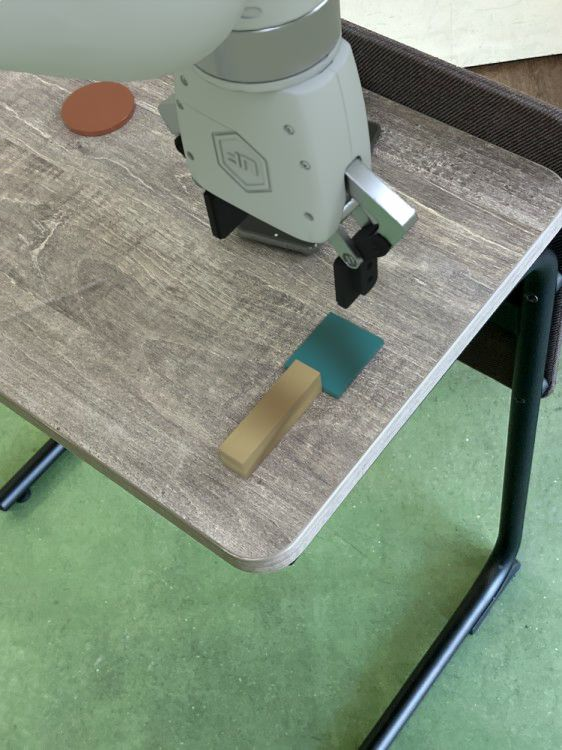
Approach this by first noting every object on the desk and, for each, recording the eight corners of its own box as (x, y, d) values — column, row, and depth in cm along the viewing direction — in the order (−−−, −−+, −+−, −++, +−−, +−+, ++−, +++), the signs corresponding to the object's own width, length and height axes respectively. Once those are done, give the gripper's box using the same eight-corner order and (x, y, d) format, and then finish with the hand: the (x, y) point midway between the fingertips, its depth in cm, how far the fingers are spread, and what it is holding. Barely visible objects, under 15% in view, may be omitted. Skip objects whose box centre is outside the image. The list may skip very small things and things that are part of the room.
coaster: (73, 145, 88) (71, 140, 88) (54, 101, 92) (52, 96, 91) (144, 120, 89) (143, 115, 88) (123, 77, 93) (121, 72, 92)
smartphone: (383, 122, 84) (314, 251, 76) (384, 131, 85) (315, 260, 77) (307, 106, 86) (232, 229, 78) (308, 115, 87) (234, 238, 79)
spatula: (262, 490, 66) (258, 474, 64) (207, 455, 68) (202, 438, 66) (384, 343, 72) (384, 324, 70) (330, 314, 74) (329, 295, 72)
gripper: (75, 0, 47) (150, 236, 61) (362, 130, 39) (371, 364, 54) (177, -77, 50) (226, 166, 64) (462, 32, 42) (446, 279, 56)
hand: (292, 257), depth 59 cm, fingers open, 9 cm apart
